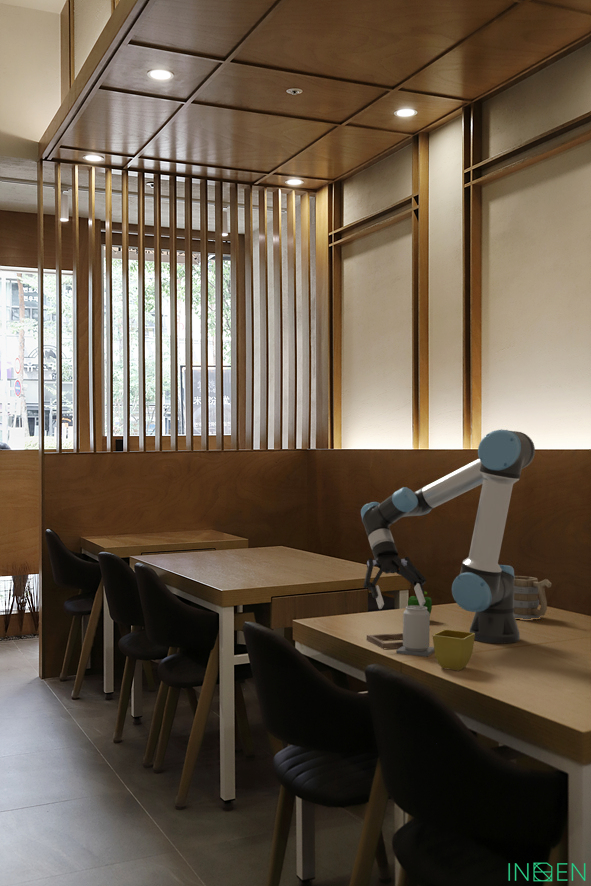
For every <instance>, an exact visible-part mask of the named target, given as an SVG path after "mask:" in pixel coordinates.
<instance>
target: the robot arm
mask: <svg viewBox="0 0 591 886" xmlns="http://www.w3.org/2000/svg"><path fill="white" fill-rule="evenodd" d="M535 455H536V447H535V444H534V442H533V440H532V438H531V437H530V436H529V435H528V434H525V432H522V431H517V430H515V431H514V430H509V429H502V428H501V429H497V430H492V431H490V432H488V433H487V434H485V435H484V436H483V438H481V440H480V442H479V444H478V447H477V456H478V458H477V459H475V460H472V462H470V463H467V464H466V465H463V466H461V467H460V468H458V469H456V470H454V471H452V472H450V473H448V474H446V475H445V476H443V477H440V478H439V479H437V480H435V481H433V482H431V483H429V484H427V485H424V486H423V487H421V488H419V489H418V490H416V491H413V490H412V489H410V488H408V487H407V486H406V487H404V486H403V487H401V488H399V489H398V490H396V491H394V492H393V494H391V495H390V496H388V497H387V498H385V500H383V501H382V502H377V501H372V502H369V503H366V504H364V505H363V506H362V508H361V509H360V515H361V522H362V524H363V526H364V529H365V532H366V536H367V539H368V542H369V545H370V549H371V552H372V554H373V558H374V559H373V558H372V557H369V558H368V560H367V562H366V567H367V568H366V571H365V572H366V573H365V577H364V582H363V588H364V589H368V591H370V593H371V596H372V598H373V599H375V600H376V603H377V607H378V610H381V609H382V608H383V607H384V605H385V603H384V598H383V596H382V593H381V589H380V586H379V585H378V584H377V583H378V582H379V579H380V578H381V575H382V574H383V573H384V574H386V575H387V574H396V575H398V576H401V577H402V578H404V579H405V580H407V582H408V583H410V584H411V585H413V586H414V587H413V589H414V592H415V595H416V596H415V597H417V599H418V602H419V604H420V606H423V605H424V604H425V602H426V601H425V599H424V597H425V596H424V595H425V594H424V592H425V589H424V584H426V581H427V578H426V577H425V576H424V575H423V574H422V573H421V572H420V571H419V569H418V568H417V567H416V566H415V565H414V564H413V563H412V562H411V559H410V557H409V556H406V557H405V558H400V556H399V553H398V552H399V551H398V548H397V546H396V544H395V540H394V537H393V534H392V531H391V528H390V526H391V525H393V524H395V523H396V522H398V520H400V519H401V518H405V517H416V516H417V517H420V516H421V517H422V516H423V515H427V514H429V513H430V512H431V511H432V510H433V509H435V508H436V507H438V506H441V505H443V504H444V503H447V502H449V501H450V500H452V499H454V498H456V497H458V496H460V495H462V494H464V493H466V492H469V491H471V490H472V489H475V488H477V487H478V486H481V490H480V496H479V502H478V506H477V512H476V517H475V521H474V528H473V533H472V537H471V543H470V547H469V548H470V549H469V552H468V557H466V558H465V559H463V560H462V563H461V567H460V572H459V574H458V575H457V576H456V577H455V578H454V579H453V582H452V585H451V595H452V597H453V599H454V601H455V603H456V604H457V606H458V607H460V608H461V609H463V610H465V611H467V612H469V613H470V612H471V613H474V615H473V619H472V621H471V624H470V628H469V632H470V633H475V638H474V641H477V642H480V643H481V642H482V643H489V644H512V643H513V642H514V643H517V641H518V642H519V641H521V640H520V637H521V636H520V635H521V634H520V630H519V627H518V623H517V620H515V617H514V579H515V576H516V575H515V569H514V568H513V566H511V565H507V564H499V559H500V553H501V548H502V543H503V538H504V533H505V528H506V523H507V517H508V513H509V508H510V507H509V506H510V503H511V502H510V501H511V496H512V491H513V488H514V487H513V486H514V484H515V483H517V482H519V480H520V479H521V473H522V469H524V468H526V467H528V466H529V465H530V464H531V463H532V462H533V460H534V457H535ZM375 566H376V567H377V568H379V570H378V571H377V573H376V575H375V577H374V579H373V580H372V582H371V577H372V574H373V568H374V567H375ZM376 584H377V585H376ZM514 643H513V644H514Z"/></svg>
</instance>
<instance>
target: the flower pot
mask: <svg viewBox="0 0 591 886" xmlns="http://www.w3.org/2000/svg"><path fill="white" fill-rule="evenodd" d="M474 638H475V633H470V631H461V630H455V629H454V630H453V629H443V630H440V631H439V632H436V633H433V635H432V642H433V647H434V652H433V653H434V656H435V658H436V661H437V663H438V664H439V666H440V668H442V669H444V668H446V669H445V670H447V669H448V670H453V671H457V670H458V672H459V671H461V670H463V669H464V668H466V667H467V665H468V664H469V662H470V661H471V657H472V656H473V655H472V654H473V651H474V646H475V644H474V643H475V640H474Z"/></svg>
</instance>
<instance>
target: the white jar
mask: <svg viewBox="0 0 591 886" xmlns="http://www.w3.org/2000/svg"><path fill="white" fill-rule="evenodd" d="M427 609H428V608H427V607H424V606H414V605H413V606H408V605H407V606H405V610H404V611H403V614H402V615H403V616H402V625H403V626H402V633H403V639H402V642H403V646H404V647H405V648H406V649H407V650H411V651H424V650H426V649H427V648H428V647H430V625H431V624H430V622H431V621H430V617H431V614H430V613H429V612H428V611H427Z"/></svg>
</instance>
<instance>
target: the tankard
mask: <svg viewBox="0 0 591 886" xmlns="http://www.w3.org/2000/svg"><path fill="white" fill-rule="evenodd" d="M514 576H515V579H514V617H515V618H523V619H531V618H539V617H540V616H541V617H543V616H545V614H546V612H547V609H548V602H547V597H546V591H545V589H546V588H545V587H547V588H551V587H552V585H553V584H552V582H551V581H550V580H549V579H548V578H545V579H543V580H541V581H539V580H538V578H537V577H532V576H526V575H523V576H522V575H514ZM539 607H540V608H539ZM538 608H539V609H538Z"/></svg>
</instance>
